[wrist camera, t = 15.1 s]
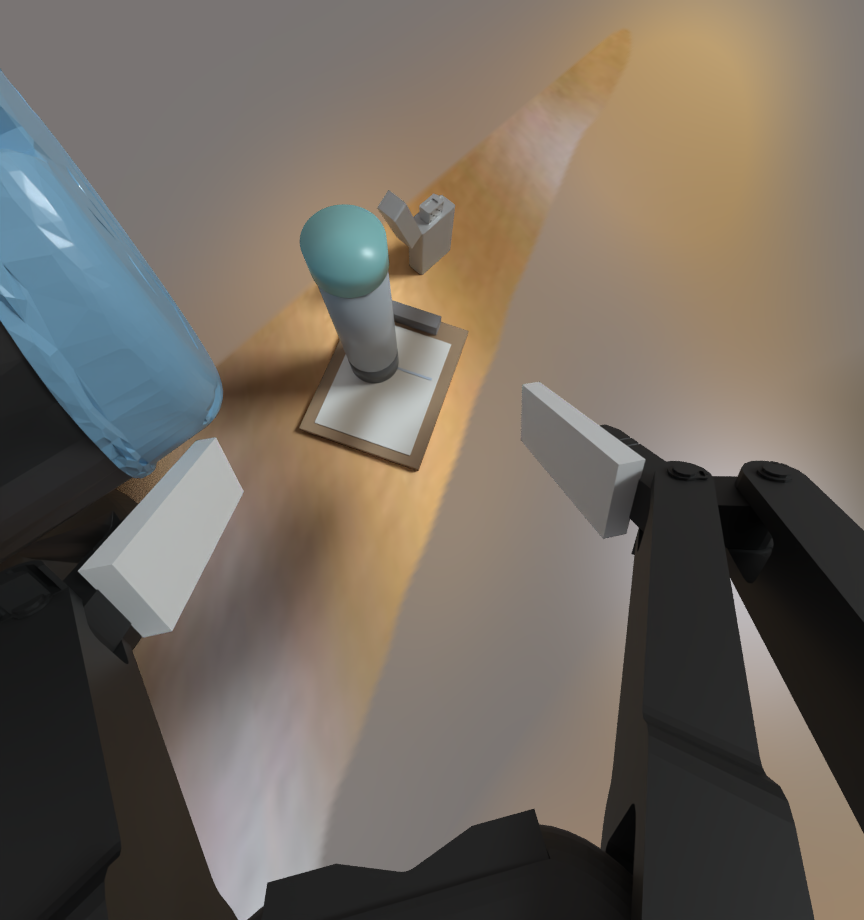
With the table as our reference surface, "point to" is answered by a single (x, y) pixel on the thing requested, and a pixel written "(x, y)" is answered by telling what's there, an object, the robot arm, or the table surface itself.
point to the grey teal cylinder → (354, 285)
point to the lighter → (421, 228)
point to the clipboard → (390, 392)
